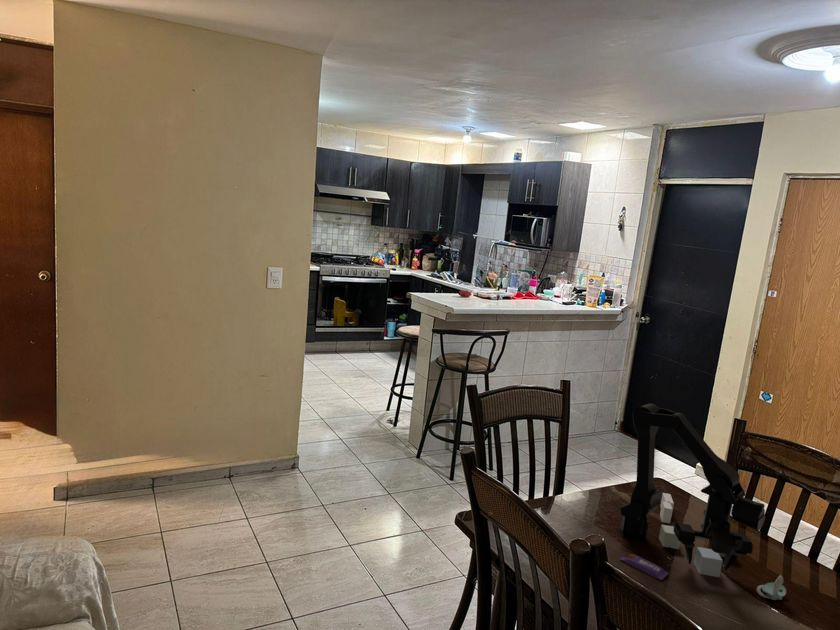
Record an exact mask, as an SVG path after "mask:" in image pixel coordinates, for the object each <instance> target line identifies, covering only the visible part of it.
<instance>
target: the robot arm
mask: <svg viewBox="0 0 840 630" xmlns="http://www.w3.org/2000/svg"><path fill="white" fill-rule="evenodd" d="M632 421H633V422H632V424H633V427H634V429H635V430H634V431H635V432H636V434H637V455H636V456H637V457H636V458H637V459H636V460H637V461H636V483H635V485H634V488H633V491H632V493H631V497H630V500H629V503H627V504H625V505H623V506H621V508H620V513H621V514H620V515H621V516H622V518H621V523H620V524H619V530H620V532H621V535H622V537H623V538H627V539H632V540H636V541H643V542H644V541H646V539H647V538H646V537H647V536H648V535H647V534H648V529H649V521H648V517H647V515H649V514H650V513H652V512H654V511H656V510H657V509H658V507H659V505H661V495H662V494H661V493H662V491H661V490H660V489H656V486H655V483H654V477H655V475H654V474H655V454H656V453H655V451H656V449H655V448H656V436H657V433H658V431H659V428H660V427H661V428H668V429H672V431H674V433H675V434H676V435H677V437H678V438H679V440H681V441H682V443H683V445H685V446H686V448H687V449H688V451H690V453H691V454H692V455H693V457H694V458H695V459H696V461H698V463H699V464H700V466H701V468H702V472H703V474H704V477H705V479H706V481H707V483H709V484H708V485H707V486H704V487H703V488H701V490H700V493H702V494H705V495H707V496H708V497H707V503H706V507H705V509H704V510H703V516H704V518H703V522H702V523H701V524H700V529H701V530H694V529H693V527H692V525H691V524H687V523H681V522H676V523H675V524H674V525H673V527H674V529H673V531H674V533H675V535H676V537H677V539H678V540H679V541H680V543H681V544H682V545H684V549H685V554H686V559H687V563H688V565H691V564H692V559H693V552H694V548H695V546H696V545H695V543H694V542H695V541H696V539H699V540H705V541H709V544H710V546H711V548H710V549H712V550H713V551H714V552H716V553H724V554H725V557H724V560H723V570H724V571H727V570H728V569H729V568H730V566H731V565H732V564H733V563H734V561H735V560H736V559H737V558H739V557H740V556H746V555H748V554H751V555H752V554H753V552H754V543H753V542H752V540H751V539H750V538H749V537H748V535H747V534H746V533H742V532H736V531H731V522H730V516H731V519H732V520H734V522H736V523H738V524H740V525H742V526H744V527H745V526H746V527H748V528H750V529H753V530H756V531H758V532H760V530H761V529H762V528H763V525H764V523H765V519H766V514H765V513H766V509H765V504H764V503H761V502H758V501H754V500H752V499H749V498H747V497H745V496H746V492H745V490H744V488H743V487H742V484H741V482H740V474H739V472H738V471H737V470H736V469H735V468H734V467H733V466H732V465H730V463H729V462H727V461H726V460H724V459H723V458H721V457H719V456H718V455H717V454H716V453H715V452H714V451H713V449H712V448H711V447H710V446H709V445H708V444H707V442H706V441H705V440H704V438H703V437H702V436H701V435H700V434H699V433H698V431H697V430H696V429H695V428H694V426H693V425H692V424H691V423H690V421H689V420H688V419H687V417H686V415H685V414H683V413H682V412H676V411H672V410H670V409H666V408H661V407H659V406H657V404H654V403H647V404H644V405H641V406H638V407H636V408H635V409H634V410H633V412H632Z"/></svg>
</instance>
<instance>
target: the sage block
mask: <svg viewBox="0 0 840 630" xmlns="http://www.w3.org/2000/svg"><path fill="white" fill-rule="evenodd" d="M659 529H660V530H659V536H658V540H659V542H660V544H661V546H662V547H664V548H669V547H670V548H669V549H674V550H675V549H676V550H679V549H680V545H681V542H680V541H679V540H678V539H677V537H676V535H675V533H674V531H673V529H674V525H668V524H667V525H666V524H661V525H660V528H659Z"/></svg>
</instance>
